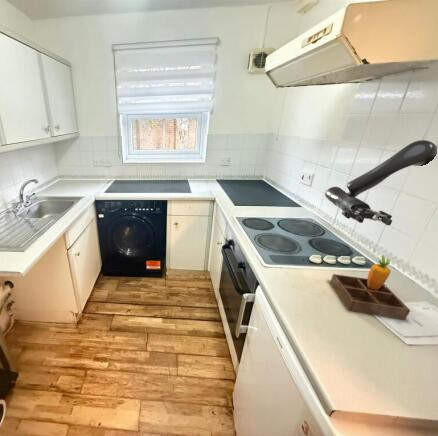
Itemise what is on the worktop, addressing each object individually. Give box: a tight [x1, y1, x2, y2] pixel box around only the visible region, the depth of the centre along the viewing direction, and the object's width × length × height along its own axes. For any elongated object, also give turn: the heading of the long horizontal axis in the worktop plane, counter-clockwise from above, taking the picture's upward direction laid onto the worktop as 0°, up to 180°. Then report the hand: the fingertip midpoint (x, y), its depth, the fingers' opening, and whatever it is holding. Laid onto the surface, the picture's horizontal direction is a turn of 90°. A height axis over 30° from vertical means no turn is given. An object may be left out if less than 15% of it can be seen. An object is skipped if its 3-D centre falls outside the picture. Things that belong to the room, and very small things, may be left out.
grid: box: [329, 273, 411, 321], centre depth 84 cm, size 15×15×4 cm
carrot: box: [366, 255, 391, 291], centre depth 84 cm, size 5×5×15 cm
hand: (376, 221), depth 88 cm, fingers open, 8 cm apart
